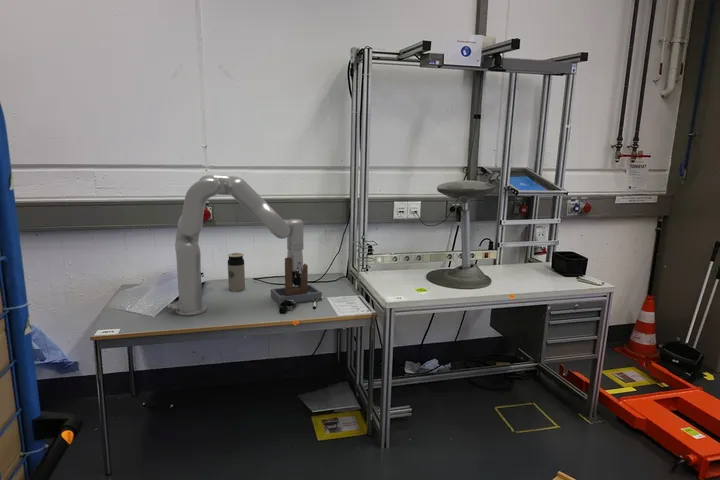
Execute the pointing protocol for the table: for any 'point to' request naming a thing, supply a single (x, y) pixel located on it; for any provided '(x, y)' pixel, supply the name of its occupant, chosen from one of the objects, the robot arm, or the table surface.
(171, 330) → the table surface
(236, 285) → the travel mug
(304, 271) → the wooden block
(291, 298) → the tray
